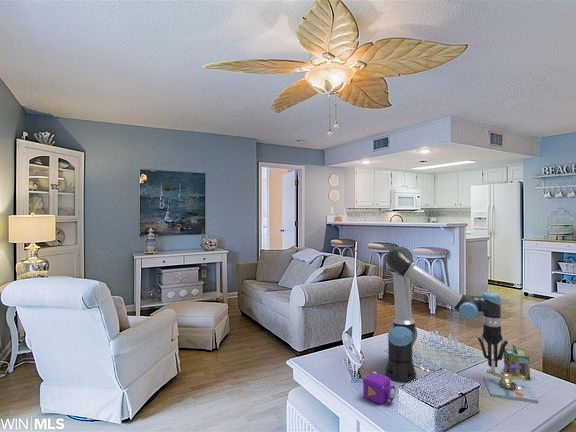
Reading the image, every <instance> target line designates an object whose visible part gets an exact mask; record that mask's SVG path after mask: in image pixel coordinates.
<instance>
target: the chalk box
mask: <svg viewBox="0 0 576 432" xmlns="http://www.w3.org/2000/svg"><path fill="white" fill-rule="evenodd" d="M511 345H512V348H505V350H504V353H503V361H504V362H503V366H504V367H503V370H504V372H509V373H511V374H512V376H524V377H525V380H531V369H530V367H531V366H530V356H529V355H528V354H527V353H526V352H525V351H524V350H521V349H517V347H516V346H515V345H514V344H511Z"/></svg>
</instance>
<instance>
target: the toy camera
mask: <svg viewBox="0 0 576 432" xmlns="http://www.w3.org/2000/svg"><path fill="white" fill-rule="evenodd" d="M362 388H363V397H364V398H365V399H366V400H368V401H371V402H374V403H376V404H378V405H379V404H380V405H382V404H384V403H385V402H386V401H387V400H389V401H390V402H393V401H394V399H395V397H396V392H397V390H396V386H395V385H391V379H390V378H389V377H387V376H386V375H385V374H380V373H377V371H372V372H371V373H370V374H368V375H366V376H365V377H364V378H363V387H362Z"/></svg>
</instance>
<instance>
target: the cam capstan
mask: <svg viewBox="0 0 576 432" xmlns="http://www.w3.org/2000/svg"><path fill="white" fill-rule="evenodd" d="M486 373H487V374H489V375H491V376H494V377H496V378H499V379H501V380H499V385H500V386H502V387H503V388H506V389H516V392H517V393H519V394H522V393H523V392H524V390H523V388H522V387H520V386H517V385H516V384H515V383H514V382H512V380H513V381H521V380H522V381H524V380H526V379H525V377H524V376H512V374H511V373H509V372H505V370H504V371H501V372H500V373H499V372H496V371H495V372H493V371H491V369H486Z"/></svg>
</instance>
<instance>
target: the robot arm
mask: <svg viewBox="0 0 576 432" xmlns="http://www.w3.org/2000/svg"><path fill="white" fill-rule="evenodd" d="M413 259H414V257H413V252H411V250H410V249H409V248H407V247H404V246H396V247H393V248H392V249H390V250H389V251H388V252H387V254H386V256H385V262H386V265H387V266H388V267H389V272H390V273H391V274H392V277H393V278H392V279H393V281H392V282H393V295H394V310H395V311H394V313H395V314H394V315H395V317H394V319H392V325H393V326H392V327H391V328H389V330H388V333H387V339H388V343H387V344H388V346H387V347H388V349H387V350H388V351H387V352H388V359H387V363H386V365H385V369H384V372H385V373H384V376H387V377H389V378H390V381H394V382H398V383H406V382H407V383H410V382H409V381H412V380H414V379H416V380H417V371H416V369H415V366H414V362H413V347H414V344H415V342H416V341H417V337H418V330H417V328H416V321H415V319H413V316H412V315H413V314H412V312H413V311H412V299H411V298H412V297H411V295H412V293H411V281H412V282H414V283H415V284H417V285H418V286H420V287H421V288H423V289H424V290H425V291H427V292H428V293H429V294H432V295H433V296H434V297H436V298H437V299H439V300H440V301H441V302H443V303H445V304H446V305H448V306H449V307H450V308H452V309H454V310H455V311H456V312H457V313H459V315H460V316H461V317H462V318H463V319H465V320H474V319H475V318H476V317H477V315H478V314H479V313H482V322H483V328H482V335H481V336H480V337H479V336H478V337H476V338H477V341H478V342H479V344H480V347H481V351H482V355H483V357H484V358H485V359H486V360H487V364H488V367H490V370H491V371H493V372H496V368H498V361H502V360H503V358H504V350H505V349H506V346H508V343H509V342H508V340H507V339H505V338H503V336H502V304H501V296H500V294H499V293H496V292H492V291H490V292H487V291H486V292H482V295H479V296H478V295H470V294H469V295H468V294H460V293H459V292H458V291H456V290H455V289H453V288H452V287H450V286H449V285H447V284H446V283H444V282H442V281H441V280H439V278H437V277H435V276H433V275H431V274H430V273H429V272H427V271H426V270H425V269H422V268H421V267H420V266H418V265H416V262H415V261H414V260H413ZM484 341H485V342H486V343H487V352H486V348H485V347H486V346H485V344H484ZM498 344H500V347H499V351H498V346H499V345H498ZM492 350H493V355H492ZM492 356H493V357H492ZM407 383H406V384H407Z"/></svg>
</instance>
